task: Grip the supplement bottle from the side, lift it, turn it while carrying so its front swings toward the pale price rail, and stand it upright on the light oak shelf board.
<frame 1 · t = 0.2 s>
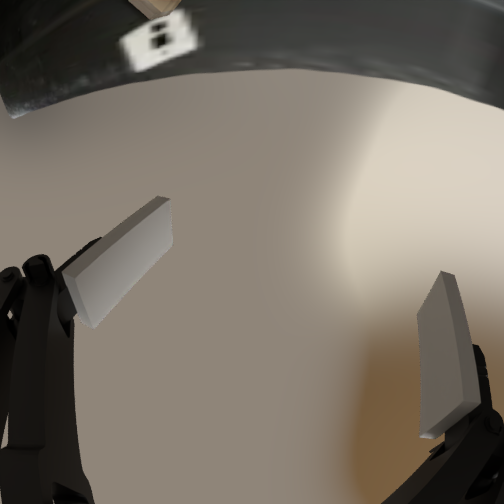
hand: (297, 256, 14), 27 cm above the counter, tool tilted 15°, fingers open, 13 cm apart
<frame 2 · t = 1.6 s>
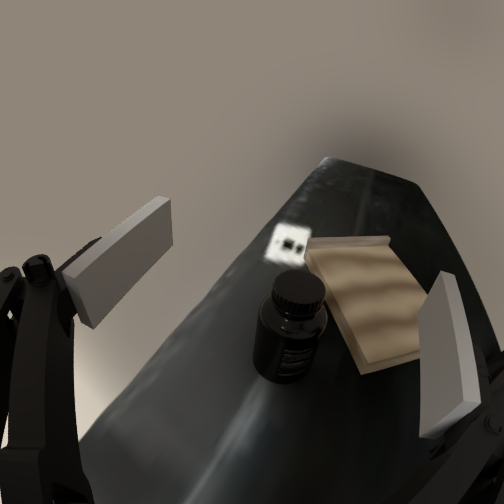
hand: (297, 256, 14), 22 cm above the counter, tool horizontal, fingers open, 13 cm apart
shelf board: (376, 303, 43), on the counter
supplement bottle: (280, 362, 34), on the counter
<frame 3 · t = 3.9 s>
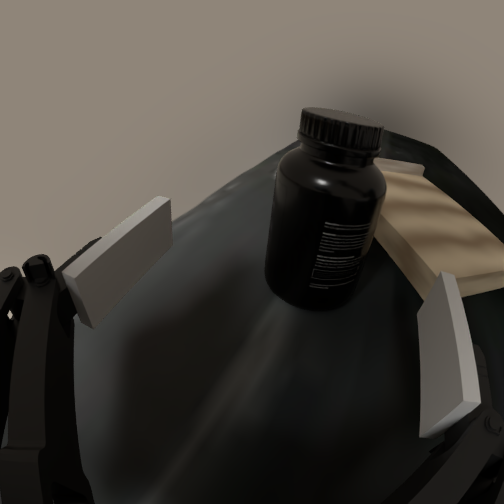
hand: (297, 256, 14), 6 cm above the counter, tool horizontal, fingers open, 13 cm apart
shelf board: (422, 228, 31), on the counter
supplement bottle: (307, 282, 22), on the counter
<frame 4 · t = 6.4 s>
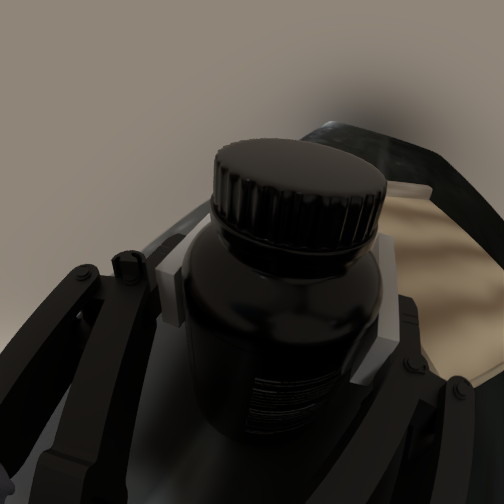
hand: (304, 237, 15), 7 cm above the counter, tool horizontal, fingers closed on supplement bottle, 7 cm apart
shelf board: (429, 279, 24), on the counter
supplement bottle: (259, 391, 15), on the counter, touching gripper
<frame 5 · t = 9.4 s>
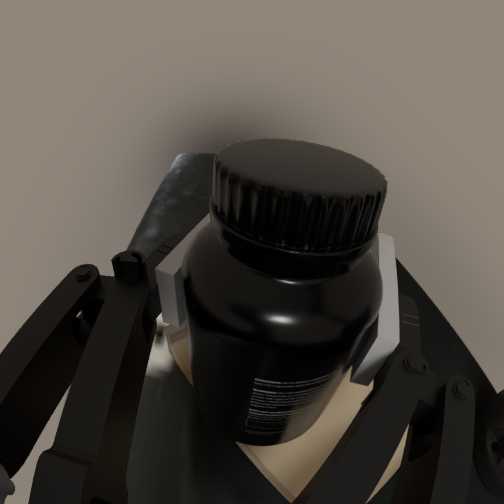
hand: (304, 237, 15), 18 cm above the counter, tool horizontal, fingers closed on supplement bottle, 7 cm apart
shelf board: (307, 399, 26), on the counter
supplement bottle: (258, 392, 15), point 11 cm above the counter, touching gripper
when the fingers open (10 cm above the counter, at t = 12.8 s): supplement bottle drops 1 cm, resting on shelf board.
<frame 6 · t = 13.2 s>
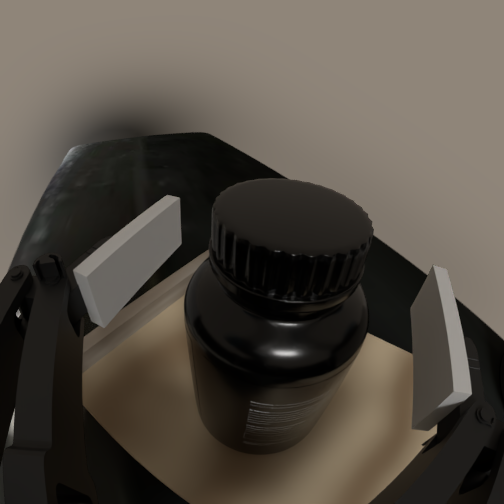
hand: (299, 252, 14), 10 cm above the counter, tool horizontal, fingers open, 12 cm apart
shelf board: (287, 422, 17), on the counter
supplement bottle: (256, 404, 16), point 2 cm above the counter, touching shelf board
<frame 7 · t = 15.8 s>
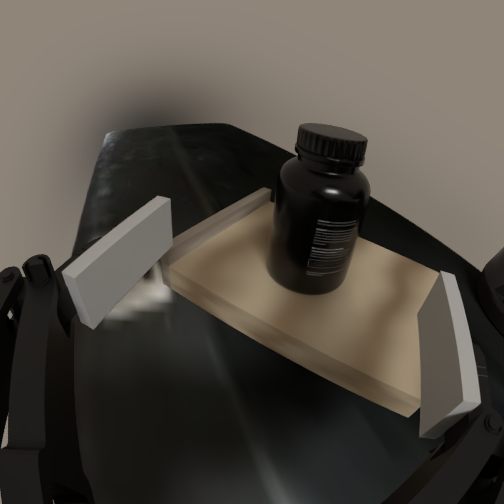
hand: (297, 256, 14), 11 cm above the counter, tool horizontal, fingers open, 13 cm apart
shelf board: (323, 294, 27), on the counter
supplement bottle: (304, 272, 26), point 2 cm above the counter, touching shelf board
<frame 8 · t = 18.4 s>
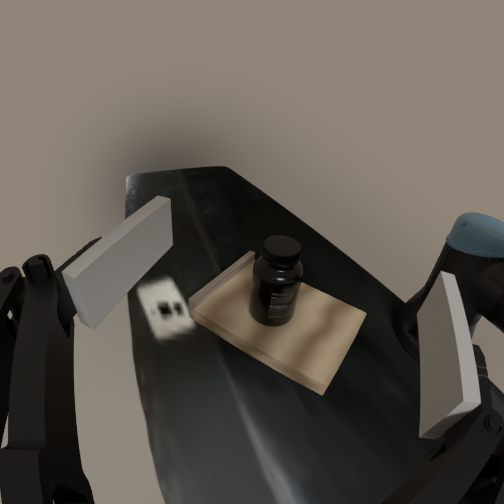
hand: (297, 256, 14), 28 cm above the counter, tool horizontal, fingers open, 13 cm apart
shelf board: (282, 323, 47), on the counter
supplement bottle: (270, 312, 46), point 2 cm above the counter, touching shelf board
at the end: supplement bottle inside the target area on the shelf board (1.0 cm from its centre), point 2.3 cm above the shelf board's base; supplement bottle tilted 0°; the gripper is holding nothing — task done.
